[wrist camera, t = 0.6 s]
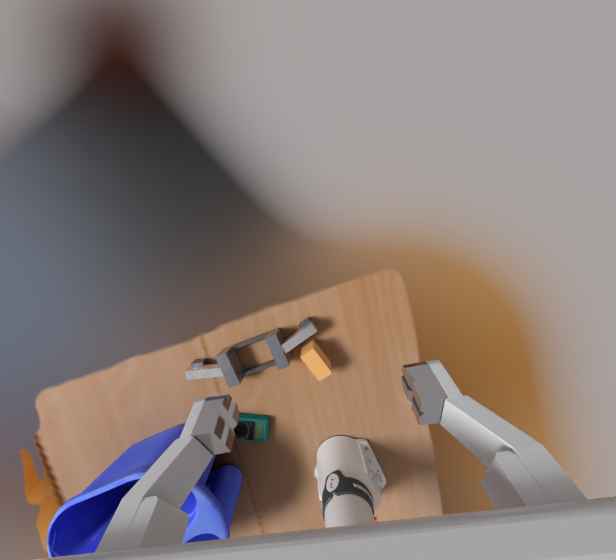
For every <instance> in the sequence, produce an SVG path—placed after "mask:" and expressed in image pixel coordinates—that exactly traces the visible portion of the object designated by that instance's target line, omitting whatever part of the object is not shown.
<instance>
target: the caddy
mask: <svg viewBox="0 0 616 560" xmlns="http://www.w3.org/2000/svg"><path fill="white" fill-rule="evenodd" d="M185 424H186V423H185ZM185 424H181V425H178V426H175V427H173V428H170V429H168V430H166V431H163V432H161V433H159V434H156V435H154V436H152V437H149V438H147V439H145V440H142V441H140V442H138V443H136V444H134V445H132V446H131V447H130V448H128V449H127V450H126V451H125V452H124V453H123V454H122V455H121V456H120V457H119V458H118V459H117V460H116V461H114V462H113V463H112V464H111V465H110V466H109V467H108V468H107V469H106V470H105V471H104V472H103V473H102V474H101V475H100V476H99V477H98V478H96V479H95V480H94V481H93V482H92V483H91V484H90V485H89V486H88V487H87V488H86V489H85V490H84V491H83V492H82V493H81V494H78V495H76V496H74V497H73V498H71V499H70V500H68V501H67V502H66V503H65V504H64V505H63V506H62V507H61V508H60V509H59V510H58V511H57V513H56V514H55V515H54V517H53V519H52V521H51V523H50V525H49V529H48V534H47V547H48V554H49V557H50V558H51V557H60V556H69V555H79V554H88V553H95V551H96V549H97V547H98V545H99V543H100V541H101V539H102V537H103V535H104V533H105V531H106V529H107V527H108V526H109V524H110V522H111V520H112V518H113V516H114V514H115V512H116V510H117V508H118V506H119V504H120V502H121V500H122V498H123V497H124V496H125V495H126V494H127V493H128V492H129V491H130V490H131V488H132V487H133V486H134V485H135V484H136V483H137V482H138V481H139V480H140V479H141V477H142V476H143V475H144V474H145V473H146V472H147V471H148V470H149V469H150V467H151V466H152V465H153V464H154V463H155V462H156V461H157V460H158V459H159V457H160V456H161V455H162V454H163V453H164V452H165V451H166V450H167V449H168V448H169V446H170V445H171V444H172V443H173V442H174V441H175V440H176V439H179V438H180V435H181V433H182V431H183V428H184V426H185ZM215 456H216V454H215V455H213V458H212V459H211V461H210V462H209V464H208V466H207V467H206V469H205V470H204V472H203V473H202V475H201V476H200V478H199V480H198V481H197V483H196V484H195V486H194V487H193V489H192V490H191V492H190V494H189V495H188V497H187V498H186V500H185V501H184V503H183V504H182V506H181V508H180V510H182V511H184V512H185V513H187V514H188V515H189V521H188V525H187V528H186V532H185V535H184V539H183V542H182V543H190V542H199V541H208V540H217V539H226V538H229V536H230V532H229V529H230V525H231V521H232V518H233V514H234V510H235V507H236V503H237V499H238V496H239V492H240V488H241V484H242V480H243V479H242V474H241V472H240V470H239V469H238V468H236V467H234V466H230V465H227V466H223V467H221V468H219V469H217V470H215V471H213V472H211V473H210V470H211V467H212V465H213V462H214V459H215Z"/></svg>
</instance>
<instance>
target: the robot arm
mask: <svg viewBox="0 0 616 560" xmlns="http://www.w3.org/2000/svg"><path fill="white" fill-rule="evenodd" d="M402 372H403V374H404V375H403V376H402V385H403V389H404V391H405V394H406V396H407V398H408V399H409V400H410V401H411V402H412V410H413V412H414V415H415V417H416V419H417V421H418V424H419V425H424V424H433V423H440V424H441V425H442V426H443V427H444V428H445V429H446V430H447V431H448V432H449V433H451V434H452V435H453V436H454V437H455V438H456V439H457V440H458V441H459V442H461V444H463V445H464V446H465V447H466V448H467V449H468V450H469V451H470V452H471V453H472V454H473V455H475V456H476V457H477V458H478V459H479V460H480V461H481V462H482V463H483V464H484V465H486V466H487V467H488V469H487V471H486V473H485V475H484V477H483V479H482V482H481V484H482V486H483V488H484V490H485V492H486V494H487V496H488V497H489V499H490V501H491V503H492V505H493V507H494V509H495V510H485V511H476V512H467V513H458V514H449V515H439V516H430V517H421V518H411V519H402V520H393V521H384V522H374V521H375V520H376V519H377V518H376V517H375V518H374V509H376V508H377V507H378V506H379V504H380V503H381V501H382V492H381V490H382V489H383V488H384V486H385V484H386V477H385V475H384V473H383V471H382V469H381V467H380V465H379V463H378V461H377V459H376V457H375V455H374V453H373V451H372V449H371V447H370V445H369V443H368V441H367V440H366V439H353V438H351V437H347V436H335V437H332V438H329V439H327V440H326V441H325V442H323V443H322V444H321V446H320V447H319V449H318V451H317V464H316V467H315V469H314V475H315V477H316V478H318V488H319V497H320V500H322V512H323V518H324V521H325V528H319V529H310V530H300V531H291V532H282V533H273V534H263V535H254V536H245V537H236V538H226V539H217V540H208V541H199V542H190V543H182V542H183V539H184V535H185V532H186V528H187V525H188V521H189V515H188V514H187V513H185V512H184V511H182V510H180V508H181V506H182V504H183V503H184V501H185V500H186V498H187V497H188V495H189V494H190V492H191V490H192V489H193V487H194V486H195V484H196V483H197V481H198V480H199V478H200V476H201V475H202V473H203V472H204V470H205V469H206V467H207V466H208V464H209V462H210V461H211V459H212V458H213V455H215V454H221V453H227V452H231V450H232V446H233V442H234V437H235V434H234V431H233V429H234V428H235V427H236V425H237V424H238V419H239V409H238V406H237V404H236V403H234V402H232V401H231V400H232V397H231V396H230V395H229V394H227V395H221V396H215V397H207V398H201V399H197V400H196V401H195V403H194V405H193V407H192V409H191V412H190V414H189V416H188V419H187V421H186V424H185V426H184V428H183V431H182V433H181V435H180V438H179V439H176V440H175V441H174V442H173V443H172V444H171V445H170V446H169V448H168V449H167V450H166V451H165V452H164V453H163V454H162V455H161V456H160V457H159V459H158V460H157V461H156V462H155V463H154V464H153V465H152V466H151V467H150V469H149V470H148V471H147V472H146V473H145V474H144V475H143V476H142V477H141V479H140V480H139V481H138V482H137V483H136V484H135V485H134V486H133V487H132V488H131V490H130V491H129V492H128V493H127V494H126V495H125V496H124V497H123V498H122V500H121V502H120V504H119V506H118V508H117V510H116V512H115V514H114V516H113V518H112V520H111V522H110V524H109V526H108V527H107V529H106V531H105V533H104V535H103V537H102V539H101V541H100V543H99V545H98V547H97V549H96V551H95V553H88V554H79V555H69V556H60V557H51V558H42V559H32V560H616V496H615V497H606V498H596V499H587V498H586V497H585V496H584V495H583V493H582V492H581V491H580V490H579V489H578V488H577V486H576V485H575V484H574V483H573V481H572V480H571V479H570V478H569V477H568V475H567V474H566V473H565V472H564V470H563V469H562V468H561V467H560V466H559V464H558V463H557V462H556V461H555V459H554V458H553V457H552V456H551V455H550V453H549V452H548V451H547V450H546V449H545V447H544V446H543V445H542V444H540V443H539V442H537V441H536V440H534V439H533V438H531V437H529V436H528V435H526V434H525V433H523V432H522V431H520V430H519V429H517V428H516V427H514V426H513V425H511V424H509V423H508V422H506V421H505V420H504V419H502V418H500V417H499V416H497V415H496V414H494V413H493V412H491V411H490V410H488V409H487V408H485V407H483V406H482V405H480V404H479V403H478V402H476V401H475V400H473V399H471V398H470V397H468V396H467V395H466V396H463V395H462V394H461V392H460V391H459V389H458V388H457V386H456V385H455V383H454V382H453V380H452V379H451V377H450V376H449V374H448V373H447V371H446V370H445V368H444V367H443V365H442V364H441V362H440V361H438V360H432V361H426V362H419V363H413V364H408V365H403V366H402ZM365 447H366V448H365Z"/></svg>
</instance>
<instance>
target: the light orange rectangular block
mask: <svg viewBox="0 0 616 560" xmlns="http://www.w3.org/2000/svg"><path fill="white" fill-rule="evenodd" d="M300 358H301V359H302V360H303V361H304V363H305V364H306V365H307V367H308V368H309V369H310V370H311V372H312V373H313V374H314V376H315V377H316V378H317V379H318V381H321V380H322V379H324V378H325V377H327V376H328V375H330V374H331V373H332V369H331V362H330V360H329V359H328V358H327V356H326V355H325V354H324V352H323V351H322V350H321V348H320V347H319V346H318V345H317V343H316V342H315V341H314V339H313V340H311V341H310V342H308V343H307V344H305V345H304V346H303V347H302V348H301V356H300Z"/></svg>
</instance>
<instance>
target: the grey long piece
mask: <svg viewBox="0 0 616 560" xmlns="http://www.w3.org/2000/svg"><path fill="white" fill-rule="evenodd" d="M299 326H300V328H301V329H299V330H298V331H297V332H295V333H294V334H292V335H291V336H290V337H288V338H287V339H285V340H284V338H283V336H282V333H281V331H280V329H279V328H277V329H274V330H271V331H269V332H266V333H263V334H261V335H258V336H255V337H253V338H250V339H247V340H245V341H242V342H240V343H237V344H234V345H232V346H229V347H226V348H224V349H222V351H221V352H220V353H219V354H218V355H217V356H216V357H215V358H216V360H217V362H218V364H210V365H207V360H206V358H205V359H196V360H195V361H194V362H192V363H191V365H192V366H190V367H189V368H188V369H187V370H186V371H185V374H186V379H187V380H189V379H200V378H210V377H221V376H224V377H225V379H226V381H227V383H228V386H229V388H230V387H233V386H235V385H238V384H240V383H241V381H242V379H243V377H244V376H246V375H249V374H252V373H254V372H257V371H260V370H263V369H265V368H268V367H271V366H274V365H277V367H278V369H279V370H280V369H282V368H285V367H288V366H290V361H291V354H290V352H289V351H290V350H291V349H293V348H294V347H296V346H297V345H298V344H300V343H301V342H303V341H304V340H306V339H307V338H309V337H310V336H312V335H313V334H314V333H316V332H317V327H316V326H315V324H314V323H313V322H312V321H311V319H310V318H309V317H308V318H306V319H305V320H304V321H302V322H301V323H300V325H299ZM262 339H265V340H266V342H267V344H268V347H269V349H270V351H271V353H272V356H273V358H274V360H271V361H268V362H265V363H263V364H260V365H257V366H254V367H252V368H249V369H246V370H244V368H243V366H242V364H241V362H240V359H239V357H238V355H237V353H236V351H235V349H238V348H241V347H243V346H246V345H249V344H251V343H254V342H257V341H259V340H262Z"/></svg>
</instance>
